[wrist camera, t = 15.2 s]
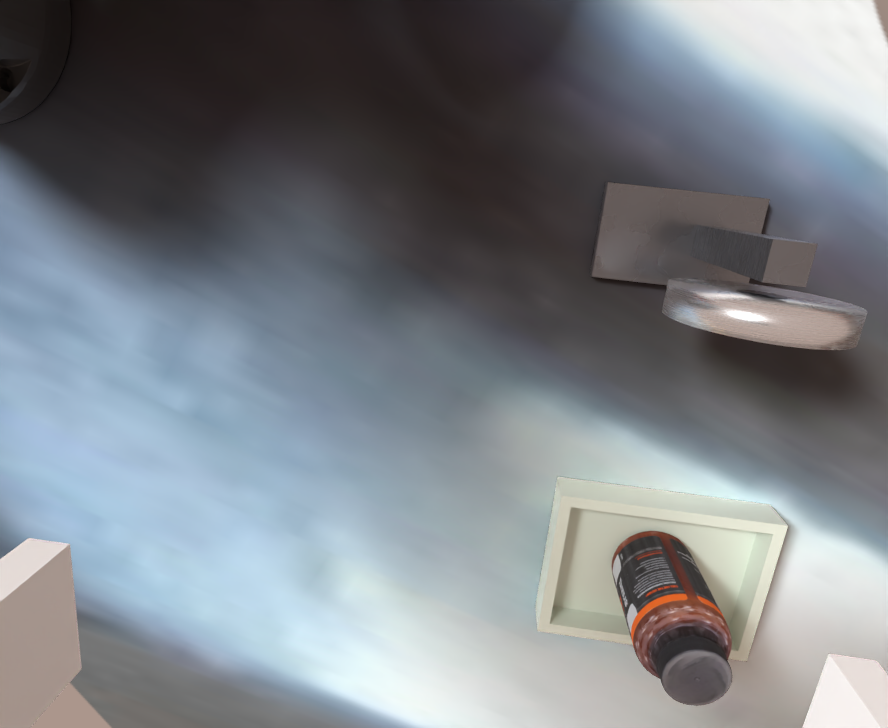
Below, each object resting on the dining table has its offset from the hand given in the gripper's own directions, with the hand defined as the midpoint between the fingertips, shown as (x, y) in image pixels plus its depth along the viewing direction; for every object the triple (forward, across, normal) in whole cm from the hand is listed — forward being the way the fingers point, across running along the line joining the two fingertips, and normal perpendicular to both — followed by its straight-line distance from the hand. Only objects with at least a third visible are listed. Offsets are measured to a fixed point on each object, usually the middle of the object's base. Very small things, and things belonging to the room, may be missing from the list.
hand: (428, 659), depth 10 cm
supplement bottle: (+32, +15, -18) cm, 40 cm away
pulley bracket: (+33, +12, +6) cm, 35 cm away
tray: (+33, +15, -18) cm, 40 cm away
